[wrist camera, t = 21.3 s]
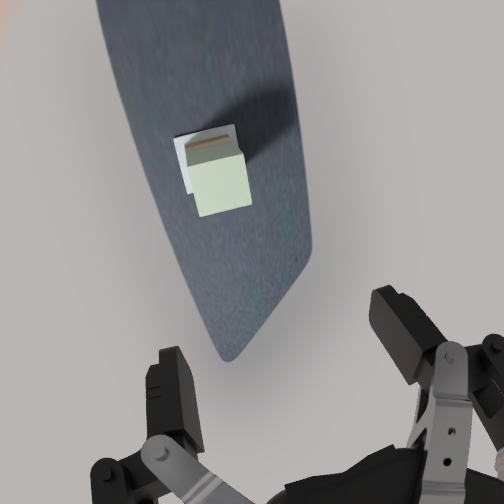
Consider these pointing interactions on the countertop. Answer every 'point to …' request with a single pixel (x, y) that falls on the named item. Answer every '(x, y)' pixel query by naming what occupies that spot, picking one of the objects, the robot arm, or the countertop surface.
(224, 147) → the sage block
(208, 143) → the maple block
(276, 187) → the countertop surface
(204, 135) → the white tile
